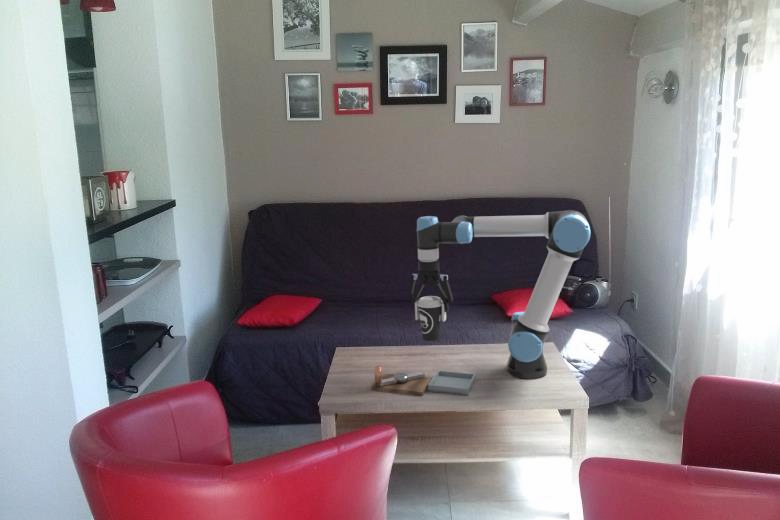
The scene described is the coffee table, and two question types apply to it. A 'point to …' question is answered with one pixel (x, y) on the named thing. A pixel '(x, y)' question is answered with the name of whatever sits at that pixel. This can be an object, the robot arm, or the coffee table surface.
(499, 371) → the coffee table surface
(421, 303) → the coffee cup
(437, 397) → the coffee table surface
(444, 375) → the tray
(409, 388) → the crank base
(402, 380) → the crank
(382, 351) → the coffee table surface
